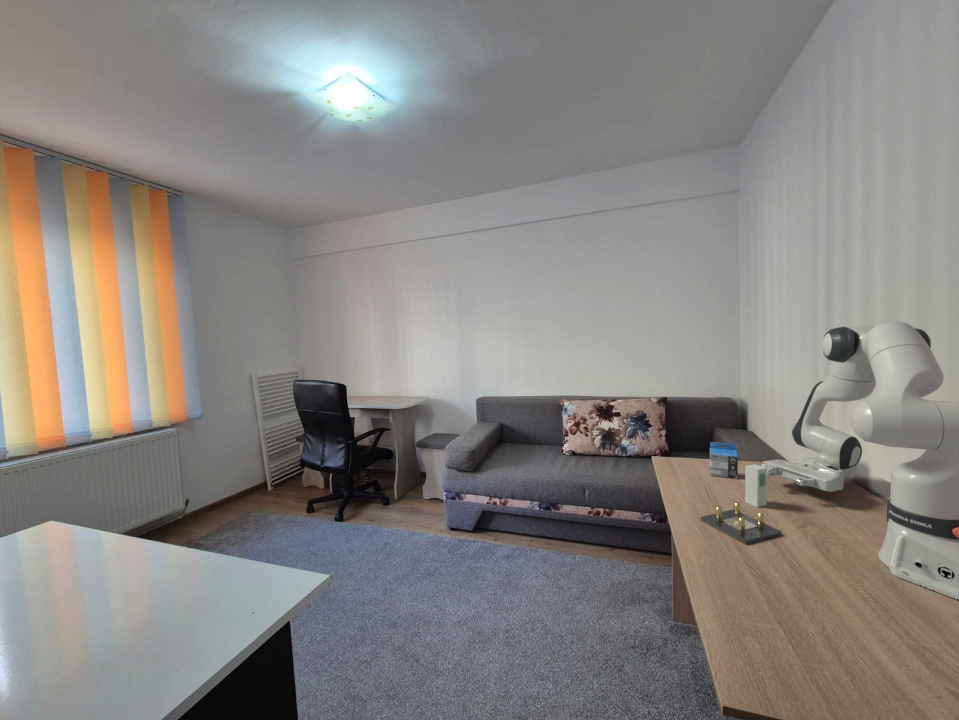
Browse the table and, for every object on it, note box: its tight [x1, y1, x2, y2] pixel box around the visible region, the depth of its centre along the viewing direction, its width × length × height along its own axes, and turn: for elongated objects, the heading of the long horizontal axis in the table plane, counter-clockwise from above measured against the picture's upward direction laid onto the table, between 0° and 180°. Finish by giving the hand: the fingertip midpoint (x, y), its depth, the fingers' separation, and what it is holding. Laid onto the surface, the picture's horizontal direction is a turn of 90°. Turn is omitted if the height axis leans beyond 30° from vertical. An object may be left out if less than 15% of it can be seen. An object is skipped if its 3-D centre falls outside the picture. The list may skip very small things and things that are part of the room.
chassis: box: [700, 501, 783, 545], centre depth 109 cm, size 14×13×5 cm
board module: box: [744, 463, 768, 508], centre depth 122 cm, size 4×4×12 cm
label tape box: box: [709, 441, 739, 479], centre depth 145 cm, size 9×4×12 cm, turn 61°
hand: (783, 477), depth 126 cm, fingers open, 8 cm apart
